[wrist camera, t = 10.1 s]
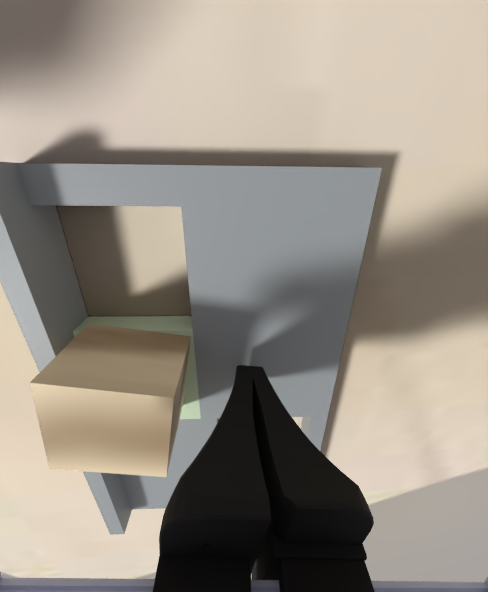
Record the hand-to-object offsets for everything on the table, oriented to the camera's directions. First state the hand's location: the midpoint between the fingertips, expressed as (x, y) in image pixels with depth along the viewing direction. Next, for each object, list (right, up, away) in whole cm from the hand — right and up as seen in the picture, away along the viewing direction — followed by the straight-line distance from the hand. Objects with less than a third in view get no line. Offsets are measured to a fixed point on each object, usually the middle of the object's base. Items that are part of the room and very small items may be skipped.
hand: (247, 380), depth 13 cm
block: (-6, +1, +1) cm, 6 cm away
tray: (-2, -1, +3) cm, 4 cm away
